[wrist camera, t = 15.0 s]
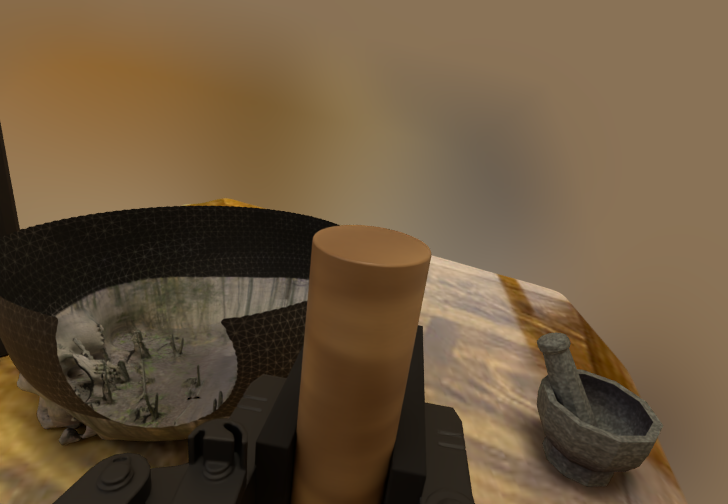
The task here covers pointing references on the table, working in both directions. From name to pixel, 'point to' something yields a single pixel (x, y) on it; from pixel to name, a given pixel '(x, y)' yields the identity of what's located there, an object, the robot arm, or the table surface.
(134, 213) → the basket
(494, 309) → the table surface
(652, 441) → the mortar and pestle
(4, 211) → the vase
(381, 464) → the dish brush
